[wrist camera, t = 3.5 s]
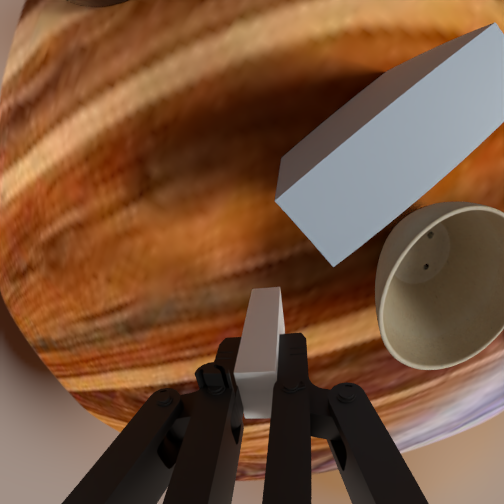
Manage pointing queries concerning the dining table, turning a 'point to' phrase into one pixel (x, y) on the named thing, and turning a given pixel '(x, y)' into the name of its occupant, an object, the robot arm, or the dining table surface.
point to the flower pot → (442, 284)
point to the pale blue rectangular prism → (393, 142)
